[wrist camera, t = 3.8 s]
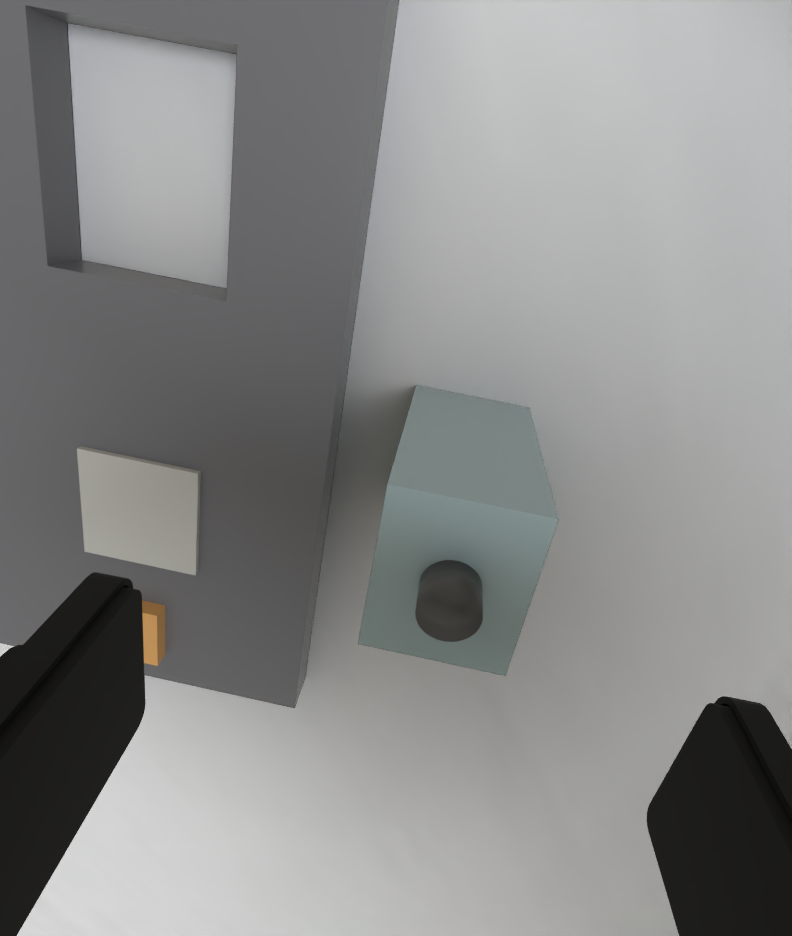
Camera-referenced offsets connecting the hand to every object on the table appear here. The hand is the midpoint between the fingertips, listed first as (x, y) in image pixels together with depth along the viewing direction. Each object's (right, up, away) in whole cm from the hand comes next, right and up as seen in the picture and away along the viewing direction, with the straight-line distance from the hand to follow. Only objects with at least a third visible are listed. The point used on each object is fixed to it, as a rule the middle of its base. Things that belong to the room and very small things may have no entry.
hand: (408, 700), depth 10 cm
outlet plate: (-8, +7, +9) cm, 14 cm away
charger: (+2, +4, +10) cm, 11 cm away
